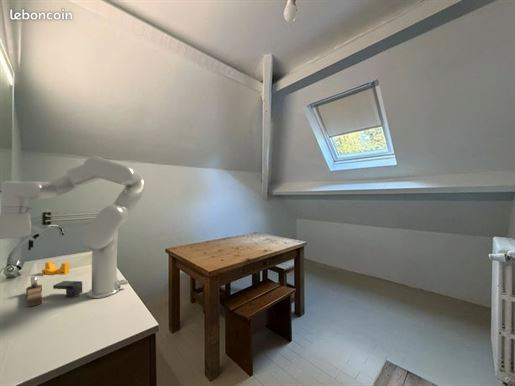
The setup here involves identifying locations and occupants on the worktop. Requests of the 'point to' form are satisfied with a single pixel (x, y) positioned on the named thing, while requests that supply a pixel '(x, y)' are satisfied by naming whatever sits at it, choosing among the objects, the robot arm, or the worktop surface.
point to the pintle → (33, 281)
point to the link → (34, 295)
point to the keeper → (70, 287)
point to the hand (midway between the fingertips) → (12, 251)
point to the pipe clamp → (55, 269)
